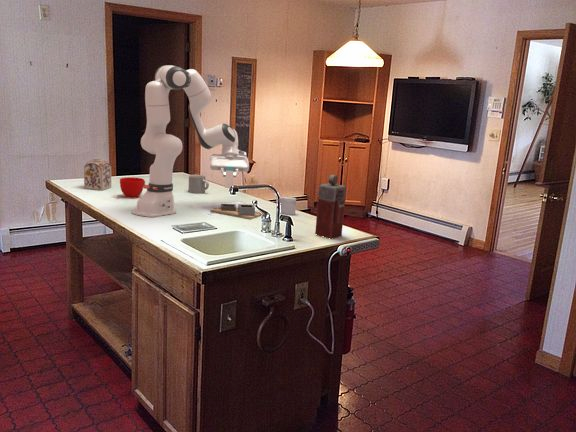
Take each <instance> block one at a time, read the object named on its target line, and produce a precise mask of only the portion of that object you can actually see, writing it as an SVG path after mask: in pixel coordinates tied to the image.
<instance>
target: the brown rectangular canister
mask: <svg viewBox="0 0 576 432" xmlns="http://www.w3.org/2000/svg"><path fill="white" fill-rule="evenodd" d="M338 177H339V176H338V175H335V174H330V176H328V183H324V184H323V183H322V184H320V185H319V186H318V195H317V209H316V221H315V231H314V232H315V233H314V235H315V234H317V235H320V236H319V237H321V236H324V237H323V238H325V237H326V239H329V238H330V240H332V238H333V239H336V238H339V237H342V235H343V226H344V216H345V215H344V213H345V204H346V203H345V201H346V193H347V192H346V191H347V186H345V185H343V184H337V183H338V181H339V178H338ZM317 235H316V236H317Z"/></svg>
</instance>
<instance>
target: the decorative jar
mask: <svg viewBox="0 0 576 432" xmlns="http://www.w3.org/2000/svg"><path fill="white" fill-rule="evenodd" d="M83 187H84V189H85V190H93V191H105V190H107V189H108V190H109V189H110V188H112V165H111V163H109V161H107V160H103V158H102V157H94V158H93V159H92V160H88V161H86V163H85V165H83Z"/></svg>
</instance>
